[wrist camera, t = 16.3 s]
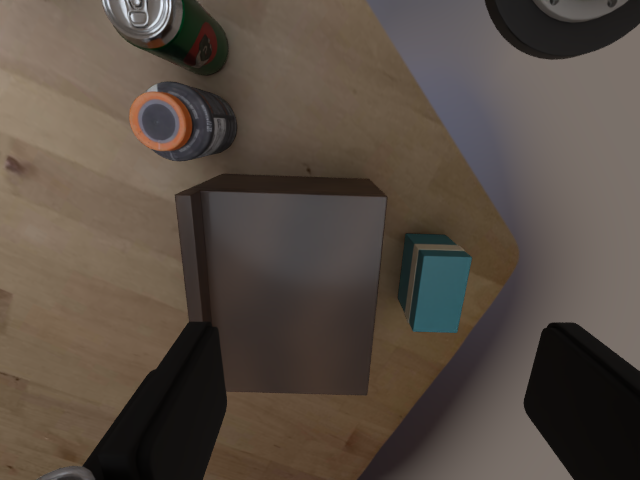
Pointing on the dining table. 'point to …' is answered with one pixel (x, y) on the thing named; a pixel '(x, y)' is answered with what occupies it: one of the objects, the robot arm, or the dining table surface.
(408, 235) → the block
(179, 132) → the pill bottle
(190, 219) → the shelf
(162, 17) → the soda can
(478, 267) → the dining table surface
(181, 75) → the dining table surface
